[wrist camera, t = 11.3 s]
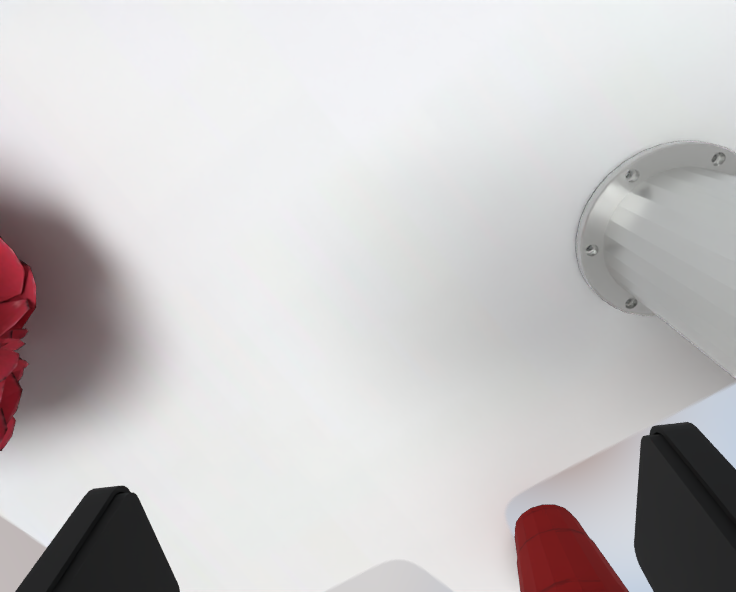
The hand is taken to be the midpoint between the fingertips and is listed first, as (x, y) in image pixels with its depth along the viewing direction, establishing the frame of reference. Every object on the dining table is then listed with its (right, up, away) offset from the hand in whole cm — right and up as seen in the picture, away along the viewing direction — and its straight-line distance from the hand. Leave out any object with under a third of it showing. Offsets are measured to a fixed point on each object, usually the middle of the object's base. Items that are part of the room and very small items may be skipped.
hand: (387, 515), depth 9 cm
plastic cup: (+17, -18, +38) cm, 45 cm away
